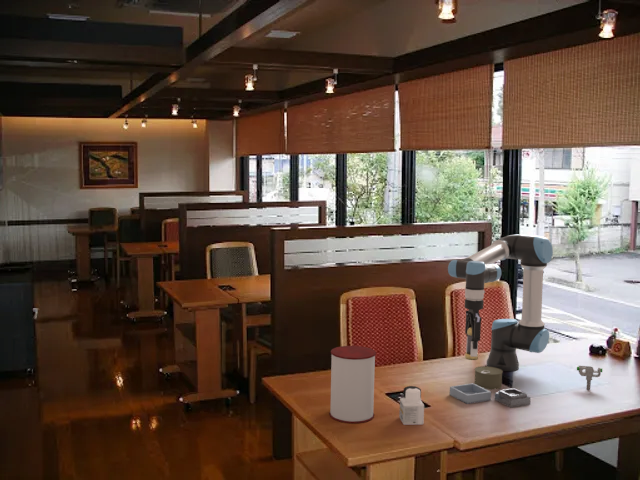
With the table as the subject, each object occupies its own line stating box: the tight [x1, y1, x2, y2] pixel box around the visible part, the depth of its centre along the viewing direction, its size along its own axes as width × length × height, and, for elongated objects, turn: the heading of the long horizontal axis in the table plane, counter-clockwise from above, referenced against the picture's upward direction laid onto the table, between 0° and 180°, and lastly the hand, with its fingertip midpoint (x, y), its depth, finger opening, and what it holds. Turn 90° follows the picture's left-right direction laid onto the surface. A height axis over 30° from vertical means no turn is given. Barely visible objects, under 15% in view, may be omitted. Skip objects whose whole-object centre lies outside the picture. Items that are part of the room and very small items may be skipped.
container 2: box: [398, 385, 425, 426], centre depth 257 cm, size 8×8×13 cm
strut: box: [464, 327, 479, 361], centre depth 282 cm, size 5×5×13 cm
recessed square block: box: [494, 387, 532, 409], centre depth 280 cm, size 10×10×4 cm
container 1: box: [328, 345, 377, 424], centre depth 262 cm, size 17×17×25 cm
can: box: [474, 365, 504, 390], centre depth 302 cm, size 12×12×7 cm
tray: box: [449, 382, 492, 405], centre depth 285 cm, size 12×12×4 cm
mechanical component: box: [576, 365, 603, 391], centre depth 298 cm, size 3×10×10 cm, turn 79°
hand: (471, 354), depth 283 cm, fingers closed on strut, 5 cm apart
